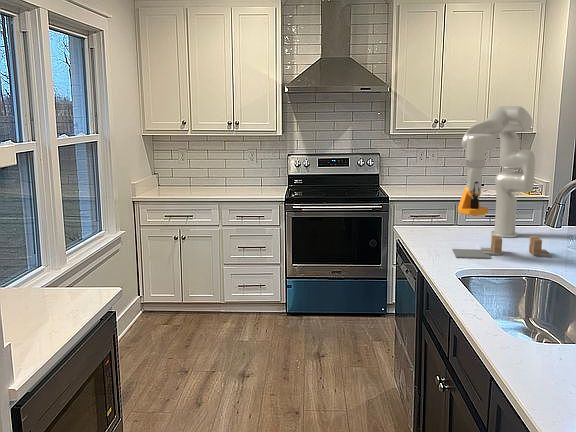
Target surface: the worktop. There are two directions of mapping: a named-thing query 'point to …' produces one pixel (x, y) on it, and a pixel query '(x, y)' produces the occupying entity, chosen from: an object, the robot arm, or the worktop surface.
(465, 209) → the bracket
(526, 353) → the worktop surface
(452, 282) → the worktop surface
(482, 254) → the mat
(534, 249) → the vise jaws
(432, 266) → the worktop surface
